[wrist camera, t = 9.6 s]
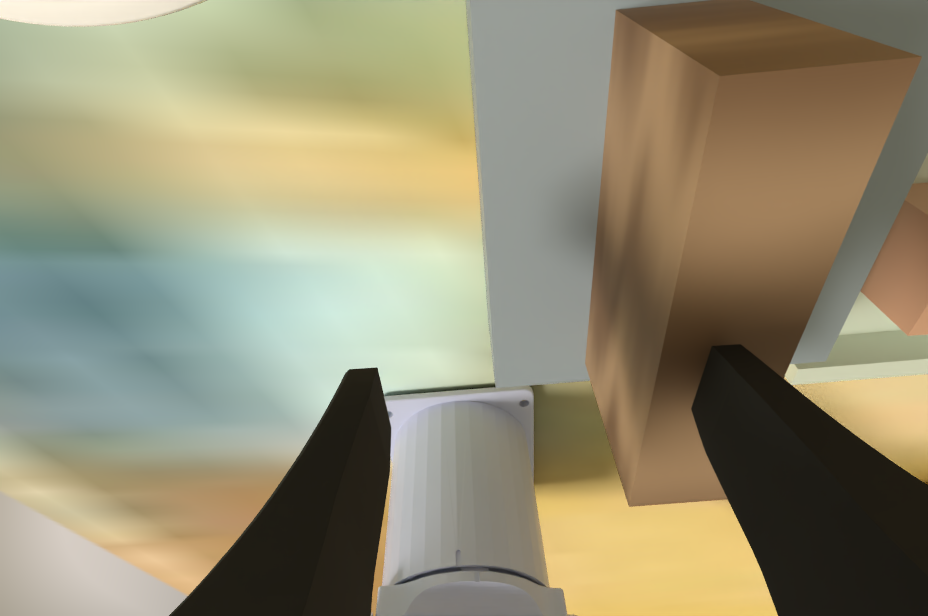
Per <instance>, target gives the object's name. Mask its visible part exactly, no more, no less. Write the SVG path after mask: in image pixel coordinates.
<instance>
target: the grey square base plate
mask: <svg viewBox="0 0 928 616" xmlns="http://www.w3.org/2000/svg"><path fill="white" fill-rule="evenodd" d="M698 1H708V0H466V9H467V23H468V37H469V51H470V65H471V80H472V94H473V108H474V122H475V136H476V151H477V165H478V179H479V193H480V207H481V222H482V236H483V250H484V264H485V278H486V292H487V307H488V321H489V331H490V340H491V350H492V359H493V368H494V377H495V386H496V388H505V387H517V386H530V385H542V384H554V383H566V382H579V381H590V378H589V375H588V371H587V368H586V365H585V358H586V347H587V335H588V324H589V312H590V301H591V289H592V278H593V266H594V255H595V243H596V232H597V220H598V209H599V197H600V186H601V174H602V162H603V151H604V139H605V128H606V116H607V105H608V93H609V82H610V70H611V59H612V47H613V36H614V24H615V13H616V10H618V9H628V8H638V7H648V6H658V5H668V4H678V3H688V2H698ZM751 1H754V2H757V3H760V4H763V5H766V6H769V7H772V8H775V9H778V10H781V11H784V12H787V13H790V14H794V15H797V16H800V17H803V18H806V19H809V20H812V21H815V22H818V23H821V24H824V25H827V26H830V27H833V28H836V29H839V30H842V31H845V32H848V33H851V34H854V35H858V36H861V37H864V38H867V39H870V40H873V41H876V42H879V43H882V44H885V45H888V46H891V47H894V48H897V49H900V50H903V51H906V52H909V53H912V54H915V55H919V56H922V58H921V61H920V63H919V65H918V68H917V70H916V72H915V74H914V77H913V79H912V81H911V84H910V86H909V88H908V91H907V93H906V95H905V98H904V100H903V102H902V105H901V107H900V109H899V112H898V114H897V116H896V119H895V121H894V123H893V126H892V128H891V130H890V133H889V135H888V137H887V139H886V142H885V144H884V146H883V149H882V151H881V153H880V156H879V158H878V160H877V163H876V165H875V167H874V170H873V172H872V174H871V177H870V179H869V181H868V184H867V186H866V188H865V191H864V193H863V195H862V198H861V200H860V202H859V205H858V207H857V209H856V211H855V214H854V216H853V218H852V221H851V223H850V225H849V228H848V230H847V232H846V235H845V237H844V239H843V242H842V244H841V246H840V249H839V251H838V253H837V256H836V258H835V260H834V263H833V265H832V267H831V270H830V272H829V274H828V276H827V279H826V281H825V283H824V286H823V288H822V290H821V293H820V295H819V297H818V300H817V302H816V304H815V307H814V309H813V311H812V314H811V316H810V318H809V321H808V323H807V325H806V328H805V330H804V332H803V335H802V337H801V339H800V341H799V344H798V346H797V348H796V351H795V353H794V355H793V358H792V360H791V362H790V364H800V363H812V362H824V361H826V360H827V358H828V356H829V354H830V352H831V350H832V348H833V346H834V344H835V342H836V340H837V338H838V336H839V333H840V331H841V329H842V327H843V325H844V323H845V321H846V319H847V317H848V315H849V313H850V311H851V309H852V307H853V305H854V303H855V301H856V299H857V297H858V295H859V293H860V291H861V288H862V286H863V284H864V282H865V280H866V278H867V276H868V274H869V272H870V270H871V268H872V266H873V264H874V262H875V260H876V258H877V256H878V254H879V252H880V250H881V248H882V246H883V243H884V241H885V239H886V237H887V235H888V233H889V231H890V229H891V227H892V225H893V223H894V221H895V219H896V217H897V215H898V213H899V211H900V209H901V207H902V205H903V203H904V201H905V198H906V196H907V194H908V192H909V190H910V188H911V186H912V184H913V182H914V180H915V178H916V176H917V174H918V172H919V170H920V168H921V166H922V164H923V162H924V160H925V158H926V156H927V153H928V0H751Z"/></svg>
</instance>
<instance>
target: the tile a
mask: <svg viewBox="0 0 928 616" xmlns="http://www.w3.org/2000/svg"><path fill="white" fill-rule="evenodd" d="M861 292H862V293H863V294H864V295H865V296H866V297H867V298H868V299H869V300H870V301H871V302H872V303H873V304H874V305H875V306H877V307H878V308H879V309H880V310H881V311H882V312H883V313H884V314H885V315H886V316H887V317H888V318H889V319H890V320H891V321H893V322H894V323H895V324H896V325H897V326H898V327H899V328H900V329H901V330H902V331H903V332H904V333H905V334H906V335H907V336H914V335H928V183H914V184H912V186H911V188H910V190H909V192H908V194H907V196H906V198H905V201H904V203H903V205H902V207H901V209H900V211H899V213H898V215H897V217H896V219H895V221H894V223H893V225H892V227H891V229H890V231H889V233H888V235H887V237H886V239H885V241H884V243H883V246H882V248H881V250H880V252H879V254H878V256H877V258H876V260H875V262H874V264H873V266H872V268H871V270H870V272H869V274H868V276H867V278H866V280H865V282H864V284H863V286H862V288H861Z"/></svg>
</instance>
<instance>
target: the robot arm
mask: <svg viewBox="0 0 928 616" xmlns="http://www.w3.org/2000/svg"><path fill="white" fill-rule="evenodd" d="M522 400H526V401H522ZM691 410H692V413H693V416H694V420H695V423H696V426H697V429H698V432H699V435H700V438H701V441H702V444H703V447H704V450H705V452H706V455H707V457H708V459H709V461H710V463H711V465H712V467H713V470H714V472H715V474H716V476H717V478H718V480H719V482H720V484H721V486H722V488H723V490H724V493H725V495H726V497H727V499H728V501H729V503H730V505H731V507H732V509H733V511H734V513H735V515H736V517H737V519H738V521H739V523H740V525H741V527H742V530H743V532H744V534H745V536H746V538H747V540H748V542H749V544H750V546H751V548H752V550H753V552H754V555H755V557H756V559H757V562H758V564H759V566H760V568H761V571H762V573H763V576H764V578H765V581H766V584H767V587H768V589H769V592H770V595H771V597H772V600H773V603H774V605H775V608H776V611H777V614H778V616H928V485H927V484H925V483H924V482H922V481H920V480H919V479H917V478H916V477H914V476H913V475H911V474H910V473H908V472H907V471H905V470H904V469H902V468H901V467H899V466H898V465H896V464H895V463H893V462H892V461H891V460H889V459H888V458H886V457H885V456H884V455H882V454H881V453H879V452H878V451H877V450H875V449H874V448H872V447H871V446H870V445H868V444H867V443H865V442H864V441H863V440H861V439H860V438H858V437H857V436H856V435H854V434H853V433H852V432H850V431H849V430H848V429H846V428H845V427H844V426H842V425H841V424H840V423H838V422H837V421H836V420H835V419H833V418H832V417H831V416H829V415H828V414H827V413H826V412H824V411H823V410H822V409H820V408H819V407H818V406H817V405H815V404H814V403H813V402H812V401H810V400H809V399H808V398H807V397H805V396H804V395H803V394H802V393H800V392H799V391H798V390H797V389H795V388H794V387H793V386H792V385H791V384H789V383H788V382H787V381H786V380H784V379H783V378H782V377H781V376H779V375H778V374H777V373H776V372H775V371H773V370H772V369H771V368H770V367H769V366H767V365H766V364H765V363H764V362H762V361H761V360H760V359H759V358H757V357H756V356H755V355H754V354H753V353H751V352H750V351H749V350H747V349H746V348H745V347H744V346H742V345H741V344H735V345H719V346H712V347H711V350H710V353H709V356H708V359H707V362H706V365H705V368H704V371H703V374H702V377H701V380H700V383H699V386H698V389H697V392H696V395H695V398H694V401H693V404H692V407H691ZM388 411H390V412H388ZM390 457H391V461H392V464H393V468H392V480H391V491H390V502H389V514H388V525H387V536H386V548H385V559H384V570H383V582H382V586H380V587H379V588H378V597H377V608H376V616H577V615H567V610H566V605H565V599H564V593H563V590H562V589H561V588H550V587H549V580H548V574H547V568H546V561H545V555H544V548H543V542H542V535H541V529H540V522H539V516H538V510H537V503H536V497H535V490H534V394H533V389H532V388H531V387H530V386H517V387H505V388H496V387H492V388H479V389H467V390H455V391H443V392H430V393H418V394H406V395H393V396H384V394H383V390H382V386H381V381H380V377H379V373H378V368H365V369H349V370H348V371H347V372H346V373H345V375H344V377H343V379H342V381H341V383H340V385H339V387H338V389H337V391H336V393H335V395H334V397H333V398H332V400H331V402H330V404H329V406H328V408H327V409H326V411H325V413H324V415H323V416H322V418H321V420H320V422H319V423H318V425H317V427H316V428H315V430H314V432H313V433H312V435H311V436H310V438H309V440H308V441H307V443H306V445H305V446H304V448H303V450H302V451H301V453H300V454H299V456H298V457H297V459H296V461H295V462H294V463H293V465H292V466H291V468H290V469H289V471H288V472H287V474H286V475H285V477H284V478H283V480H282V481H281V482H280V484H279V485H278V487H277V488H276V490H275V491H274V493H273V494H272V495H271V497H270V498H269V500H268V501H267V502H266V504H265V505H264V506H263V508H262V509H261V510H260V512H259V513H258V514H257V516H256V517H255V518H254V520H253V521H252V522H251V523H250V525H249V526H248V527H247V528H246V530H245V531H244V532H243V533H242V535H241V536H240V537H239V538H238V540H237V541H236V542H235V543H234V545H233V546H232V547H231V548H230V549H229V550H228V552H227V553H226V554H225V555H224V556H223V557H222V559H221V560H220V561H219V562H218V563H217V564H216V566H215V567H214V568H213V569H212V570H211V571H210V573H209V574H208V575H207V576H206V577H205V578H204V579H203V580H202V581H201V583H200V584H199V585H198V586H197V587H196V588H195V589H194V590H193V591H192V592H191V594H190V595H189V596H188V597H187V598H186V599H185V600H184V601H183V602H182V603H181V604H180V605H179V606H178V607H177V608H176V609H175V610H174V611H173V612H172V613H171V614H170V615H169V616H373V613H371V602H372V590H373V581H374V572H375V566H376V559H377V553H378V546H379V540H380V533H381V527H382V520H383V514H384V507H385V500H386V494H387V487H388V480H389V473H390Z"/></svg>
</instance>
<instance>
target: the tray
mask: <svg viewBox="0 0 928 616" xmlns="http://www.w3.org/2000/svg"><path fill="white" fill-rule="evenodd" d="M914 183H928V153H927V156H926V158H925V160H924V162H923V164H922V166H921V168H920V170H919V172H918V174H917V176H916V178H915V180H914V182H913V184H914ZM923 374H928V335H914V336H907V335H906V334H905V333H904V332H903V331H902V330H901V329H900V328H899V327H898V326H897V325H896V324H895V323H894V322H893V321H891V320H890V319H889V318H888V317H887V316H886V315H885V314H884V313H883V312H882V311H881V310H880V309H879V308H878V307H877V306H875V305H874V304H873V303H872V302H871V301H870V300H869V299H868V298H867V297H866V296H865V295H864V294H863V293H862V292H861V291H860V293H859V295H858V297H857V299H856V301H855V303H854V305H853V307H852V309H851V311H850V313H849V315H848V317H847V319H846V321H845V323H844V325H843V327H842V329H841V331H840V333H839V336H838V338H837V340H836V342H835V344H834V346H833V348H832V350H831V352H830V354H829V356H828V358H827V360H826V361H824V362H812V363H800V364H790V365H789V367H788V369H787V372H786V374H785V377H786V379H787V380H788V381H789V383H790V384H791V385H798V384H811V383H823V382H836V381H848V380H861V379H873V378H885V377H898V376H910V375H923Z"/></svg>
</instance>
